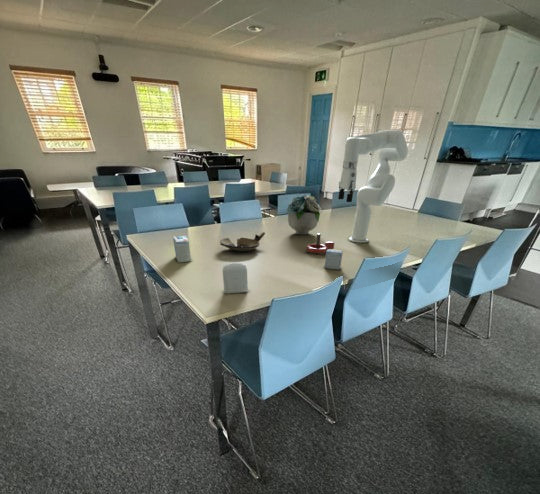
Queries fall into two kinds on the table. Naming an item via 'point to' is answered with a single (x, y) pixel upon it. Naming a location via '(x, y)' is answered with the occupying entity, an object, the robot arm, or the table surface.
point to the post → (317, 245)
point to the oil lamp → (242, 243)
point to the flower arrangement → (303, 214)
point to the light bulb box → (182, 249)
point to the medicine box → (333, 259)
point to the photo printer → (235, 278)
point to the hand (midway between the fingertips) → (344, 200)
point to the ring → (320, 247)
